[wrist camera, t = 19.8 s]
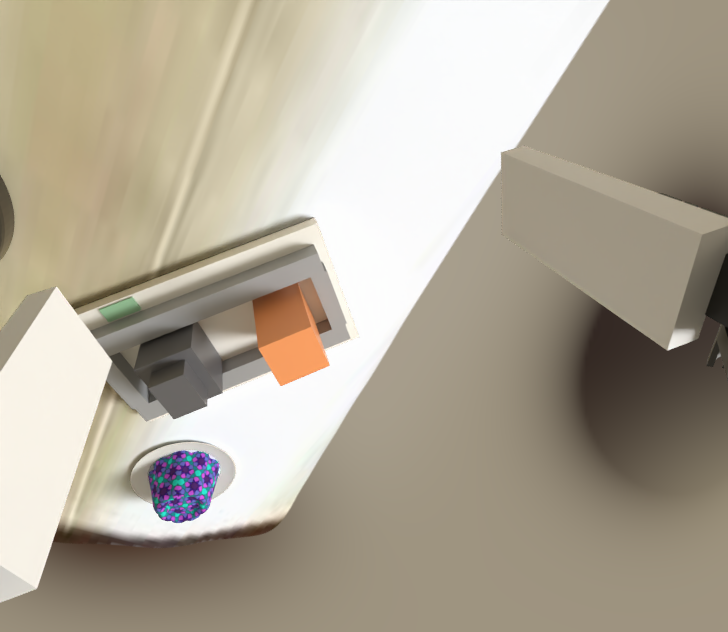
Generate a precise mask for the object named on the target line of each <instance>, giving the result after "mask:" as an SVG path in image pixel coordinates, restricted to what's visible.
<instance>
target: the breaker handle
mask: <svg viewBox="0 0 728 632" xmlns="http://www.w3.org/2000/svg"><path fill="white" fill-rule="evenodd" d="M134 371H135V372H136V374H137V375H138V376H139V377H140V378H141V380H142V381H143V382H144V383H145V384H146V385H147V387H148V389H149V391H150V392H151V393H152V394H153V395H154V396H155V398H156V399H157V400H158V401H159V402H160V403H161V405H162V406H163V407H164V408H165V409H166V411H167V412H168V413H169V414H170V415H171V416H172V418H173V419H176V418H179V417H181V416H184V415H186V414H189V413H191V412H193V411H196V410H198V409H201V408H203V407H206V406H207V399H209V398H211V397H214V396H216V395H219V394H221V393H223V370H222V358H221V357H220V355H219V354H218V352H217V351H216V349H215V348H214V346H213V345H212V343H211V341H210V340H209V338H208V337H207V335H206V334H205V332H204V331H203V329H202V328H201V326H200V325H199V323H198V322H195V323H193V324H190V325H188V326H185V327H183V328H180V329H178V330H175V331H172V332H170V333H167V334H165V335H162V336H160V337H157V338H155V339H152V340H150V341H147V342H144V343H142V344H140V348H139V351H138V355H137V359H136V363H135V367H134Z"/></svg>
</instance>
